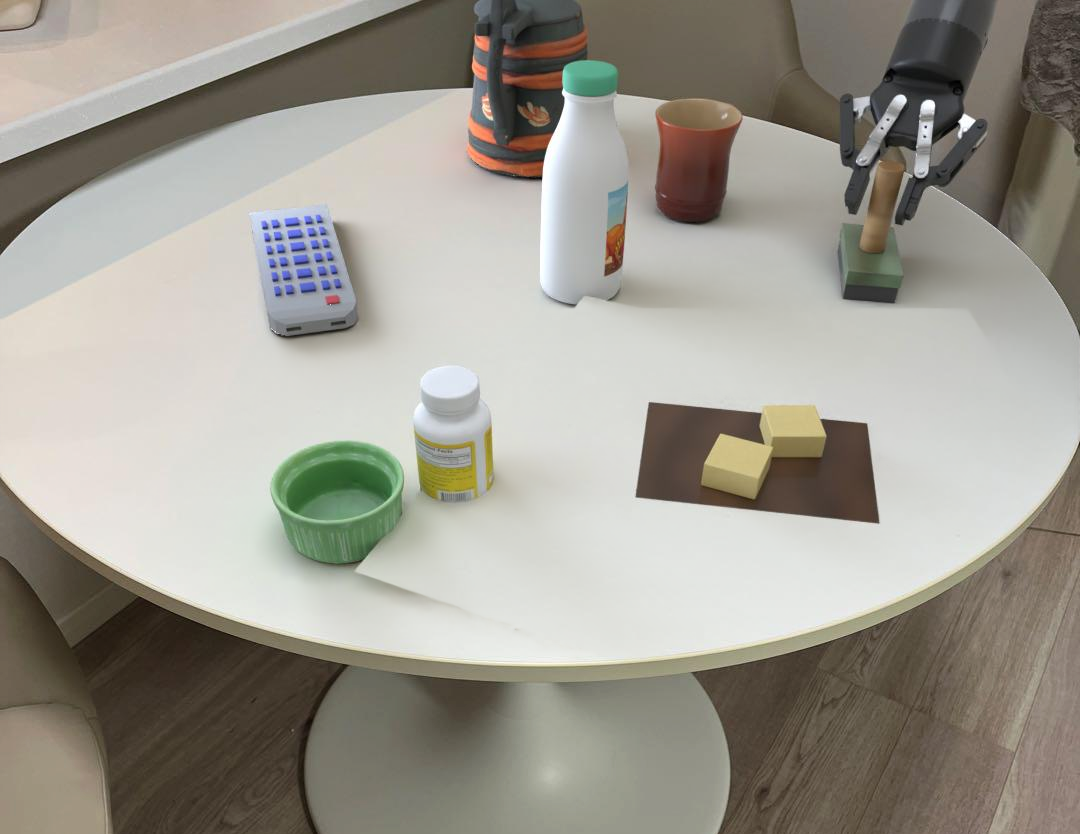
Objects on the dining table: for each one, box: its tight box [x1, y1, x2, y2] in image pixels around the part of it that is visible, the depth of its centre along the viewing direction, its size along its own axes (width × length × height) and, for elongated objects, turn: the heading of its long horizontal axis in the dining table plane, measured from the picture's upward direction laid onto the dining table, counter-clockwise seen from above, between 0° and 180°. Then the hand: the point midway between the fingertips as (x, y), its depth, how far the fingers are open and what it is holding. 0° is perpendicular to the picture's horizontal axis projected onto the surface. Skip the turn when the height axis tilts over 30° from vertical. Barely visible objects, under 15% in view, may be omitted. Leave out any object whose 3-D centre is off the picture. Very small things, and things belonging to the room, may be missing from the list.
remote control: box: [249, 203, 359, 337], centre depth 101 cm, size 8×23×2 cm, turn 16°
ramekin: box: [269, 439, 405, 564], centre depth 73 cm, size 9×9×4 cm
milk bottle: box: [539, 59, 629, 305], centre depth 94 cm, size 8×8×20 cm
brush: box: [837, 160, 906, 304], centre depth 99 cm, size 5×10×11 cm, turn 171°
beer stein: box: [466, 0, 590, 178], centre depth 115 cm, size 19×15×20 cm
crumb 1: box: [701, 434, 773, 500], centre depth 76 cm, size 4×4×2 cm
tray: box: [634, 401, 880, 525], centre depth 79 cm, size 17×12×2 cm
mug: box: [654, 97, 744, 223], centre depth 110 cm, size 12×9×10 cm
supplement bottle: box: [412, 365, 495, 503], centre depth 74 cm, size 5×5×10 cm
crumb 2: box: [760, 404, 826, 458], centre depth 79 cm, size 4×4×2 cm
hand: (875, 215), depth 96 cm, fingers open, 3 cm apart
